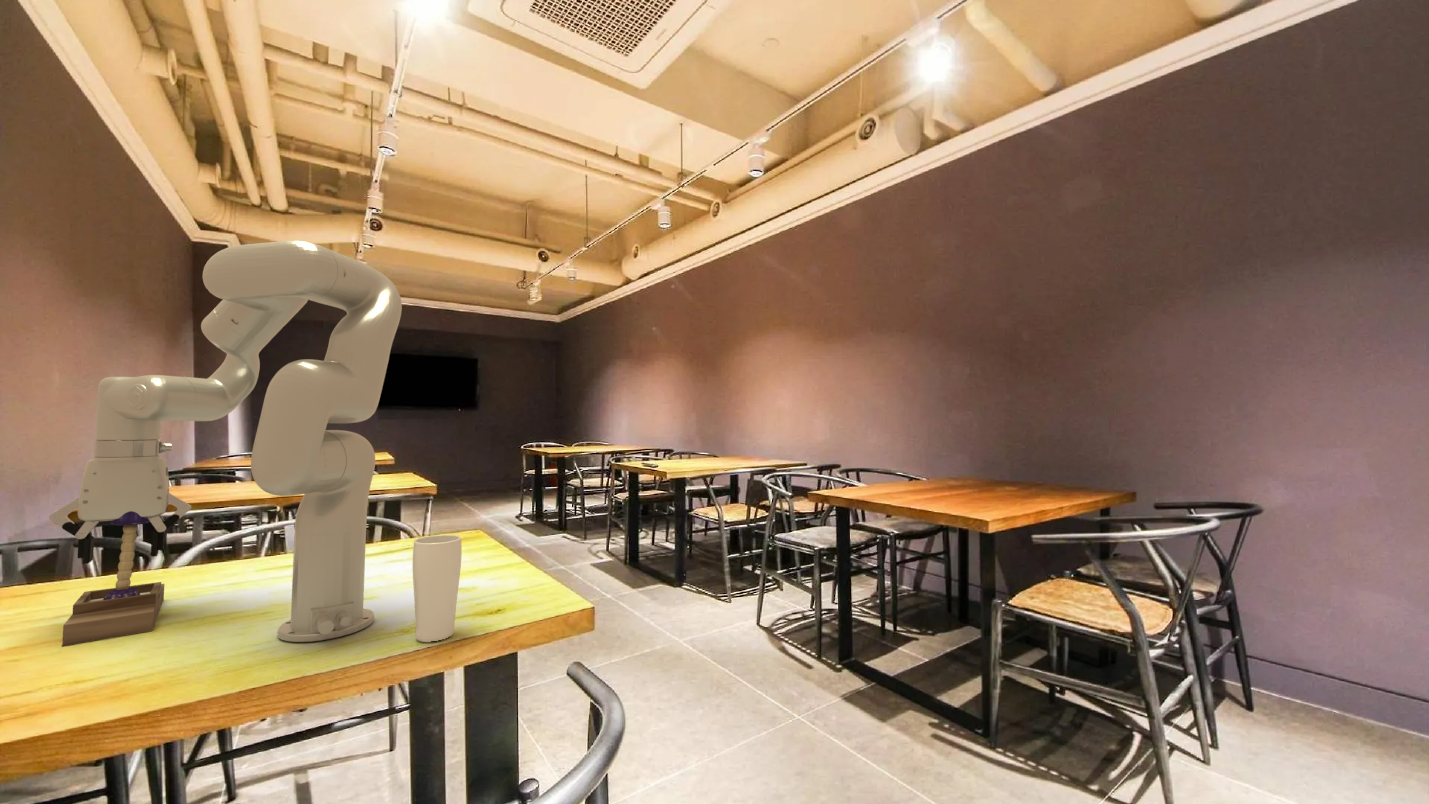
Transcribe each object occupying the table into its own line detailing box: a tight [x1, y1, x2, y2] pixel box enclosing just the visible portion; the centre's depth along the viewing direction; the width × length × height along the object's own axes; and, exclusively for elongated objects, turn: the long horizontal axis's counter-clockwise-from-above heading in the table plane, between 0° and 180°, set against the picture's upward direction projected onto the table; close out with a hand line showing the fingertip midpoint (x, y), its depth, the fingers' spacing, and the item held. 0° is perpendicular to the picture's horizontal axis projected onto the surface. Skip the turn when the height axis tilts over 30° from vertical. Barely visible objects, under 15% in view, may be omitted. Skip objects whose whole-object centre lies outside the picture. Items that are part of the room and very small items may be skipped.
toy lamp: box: [103, 511, 151, 600], centre depth 91 cm, size 5×5×17 cm
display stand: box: [61, 581, 165, 647], centre depth 91 cm, size 20×9×4 cm, turn 42°
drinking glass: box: [412, 534, 462, 643], centre depth 85 cm, size 7×7×15 cm
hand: (122, 557), depth 91 cm, fingers open, 7 cm apart
